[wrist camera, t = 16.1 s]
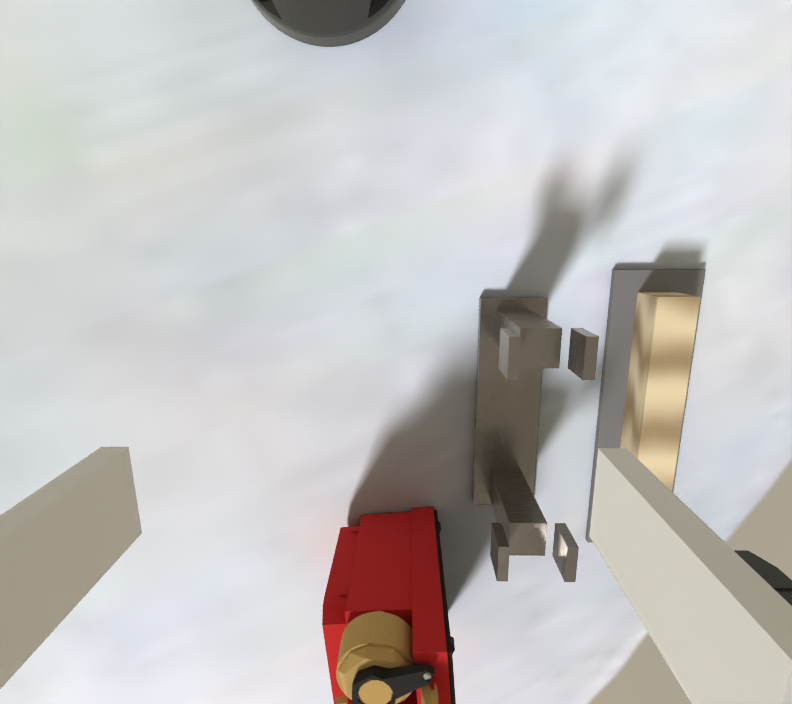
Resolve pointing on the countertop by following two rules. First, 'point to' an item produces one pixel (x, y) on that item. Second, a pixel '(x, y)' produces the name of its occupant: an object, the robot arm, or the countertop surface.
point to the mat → (620, 345)
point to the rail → (659, 379)
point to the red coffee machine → (389, 613)
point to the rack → (519, 424)
